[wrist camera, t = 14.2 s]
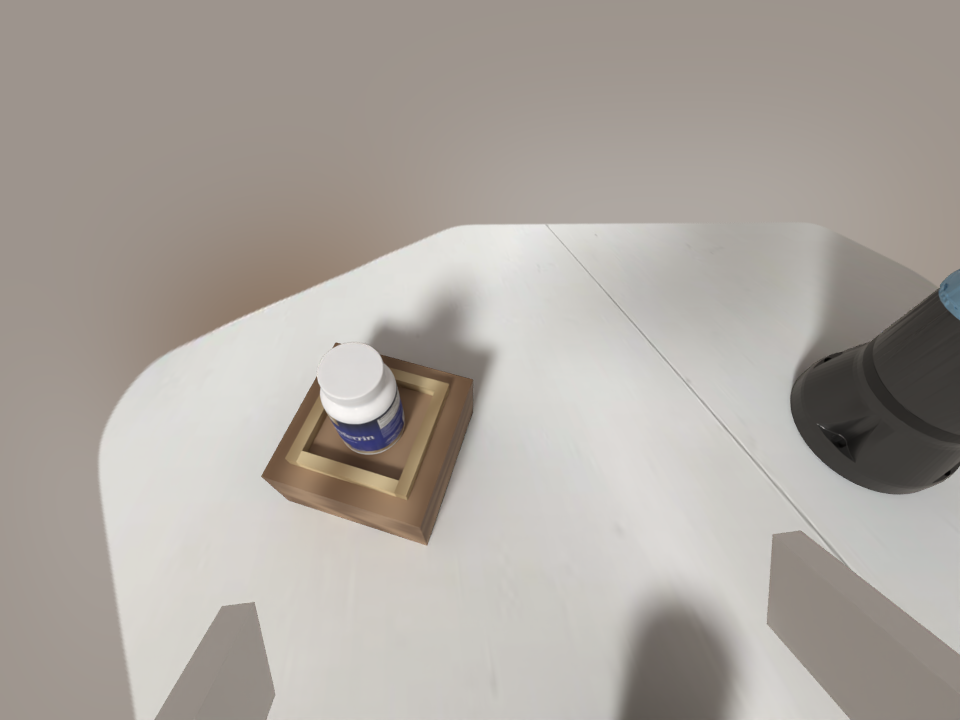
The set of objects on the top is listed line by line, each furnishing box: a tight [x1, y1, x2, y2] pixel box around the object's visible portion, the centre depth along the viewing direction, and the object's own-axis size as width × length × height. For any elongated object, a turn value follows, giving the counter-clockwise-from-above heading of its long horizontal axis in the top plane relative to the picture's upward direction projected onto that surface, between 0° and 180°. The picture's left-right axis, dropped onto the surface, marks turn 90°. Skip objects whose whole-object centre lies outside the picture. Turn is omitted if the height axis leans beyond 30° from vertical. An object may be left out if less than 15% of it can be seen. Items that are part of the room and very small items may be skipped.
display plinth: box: [261, 343, 473, 545], centre depth 45 cm, size 14×14×8 cm
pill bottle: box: [317, 342, 405, 455], centre depth 38 cm, size 6×6×10 cm
